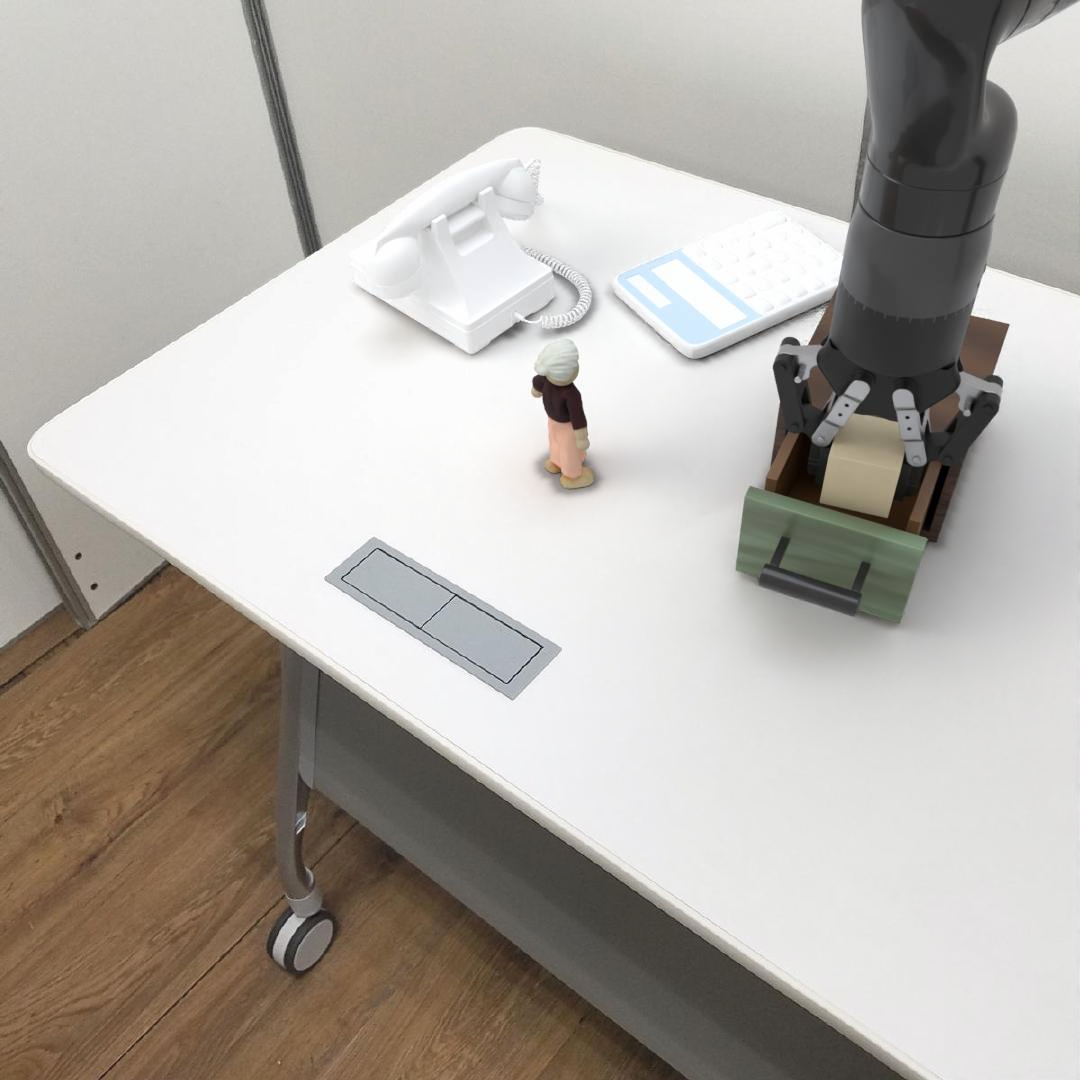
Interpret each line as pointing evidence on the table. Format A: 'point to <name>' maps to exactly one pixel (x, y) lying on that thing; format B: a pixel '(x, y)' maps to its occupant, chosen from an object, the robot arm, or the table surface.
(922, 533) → the cabinet
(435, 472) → the table surface
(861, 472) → the block
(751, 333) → the calculator
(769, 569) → the drawer
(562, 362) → the grandmother figurine
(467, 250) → the telephone
